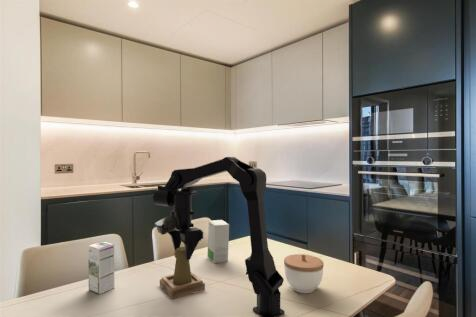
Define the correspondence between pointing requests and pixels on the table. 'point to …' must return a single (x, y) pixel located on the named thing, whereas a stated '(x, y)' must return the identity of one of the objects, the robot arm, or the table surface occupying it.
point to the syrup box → (101, 267)
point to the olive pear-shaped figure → (181, 268)
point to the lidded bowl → (303, 272)
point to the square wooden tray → (181, 286)
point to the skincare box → (218, 241)
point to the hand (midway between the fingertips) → (182, 255)
